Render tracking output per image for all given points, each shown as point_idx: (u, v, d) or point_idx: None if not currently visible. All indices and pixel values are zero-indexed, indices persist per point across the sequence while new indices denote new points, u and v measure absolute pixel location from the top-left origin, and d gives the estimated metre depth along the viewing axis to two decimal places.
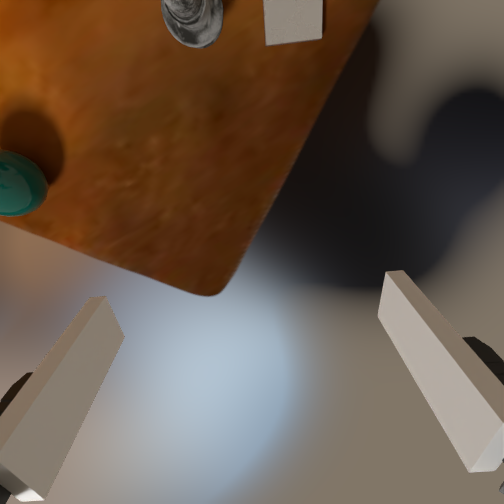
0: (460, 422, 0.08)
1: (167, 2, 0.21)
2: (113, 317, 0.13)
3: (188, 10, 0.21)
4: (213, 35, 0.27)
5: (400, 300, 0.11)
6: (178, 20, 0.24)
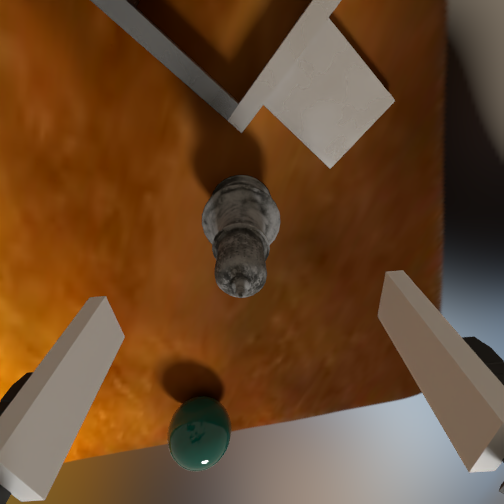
0: (460, 422, 0.08)
1: (243, 296, 0.15)
2: (113, 317, 0.13)
3: None
4: (277, 224, 0.21)
5: (400, 300, 0.11)
6: None
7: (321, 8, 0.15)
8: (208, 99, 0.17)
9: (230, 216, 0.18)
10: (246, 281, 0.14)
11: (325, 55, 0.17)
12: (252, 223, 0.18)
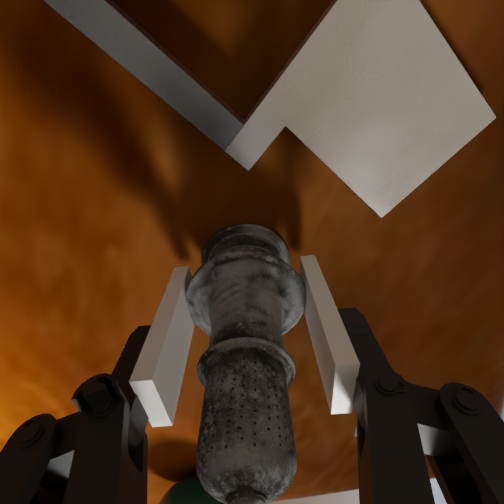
0: (326, 374, 0.10)
1: None
2: None
3: None
4: (302, 305, 0.13)
5: (305, 279, 0.13)
6: None
7: None
8: (192, 117, 0.10)
9: (229, 308, 0.11)
10: (258, 502, 0.07)
11: (391, 43, 0.10)
12: (265, 326, 0.10)
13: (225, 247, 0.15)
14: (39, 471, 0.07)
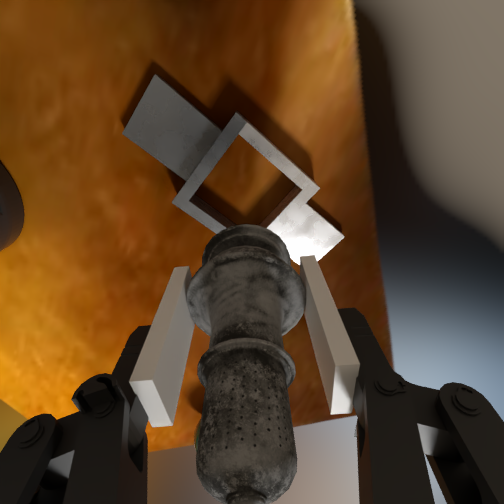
0: (326, 374, 0.10)
1: None
2: None
3: None
4: (302, 305, 0.13)
5: (305, 279, 0.13)
6: None
7: (296, 204, 0.28)
8: None
9: (229, 308, 0.11)
10: (258, 503, 0.07)
11: (301, 216, 0.30)
12: (265, 326, 0.10)
13: (225, 248, 0.15)
14: (39, 471, 0.07)
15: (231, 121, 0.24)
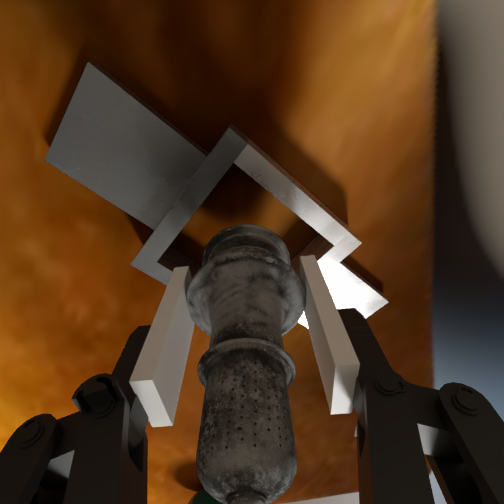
0: (326, 374, 0.10)
1: None
2: None
3: None
4: (302, 305, 0.13)
5: (305, 279, 0.13)
6: None
7: (324, 265, 0.18)
8: None
9: (229, 308, 0.11)
10: (258, 502, 0.07)
11: (327, 276, 0.20)
12: (265, 326, 0.10)
13: (225, 248, 0.15)
14: (39, 471, 0.07)
15: (221, 142, 0.14)
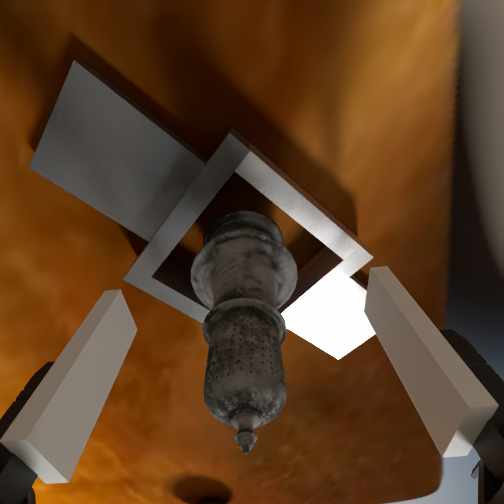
0: (434, 409, 0.09)
1: None
2: (127, 310, 0.14)
3: None
4: (294, 280, 0.15)
5: (383, 294, 0.12)
6: None
7: (332, 280, 0.17)
8: None
9: (229, 278, 0.13)
10: (254, 417, 0.08)
11: (335, 291, 0.19)
12: (260, 291, 0.12)
13: (224, 232, 0.17)
14: None
15: (221, 149, 0.13)
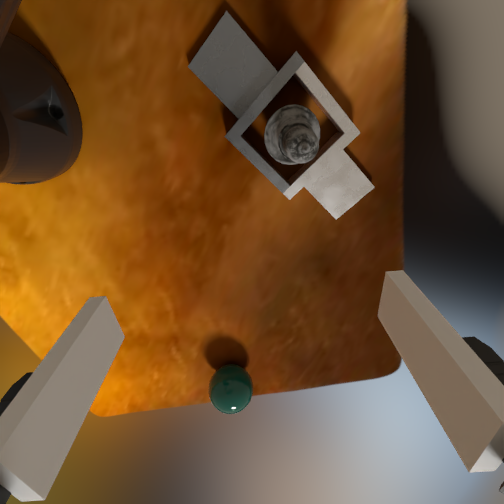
0: (460, 422, 0.08)
1: (301, 162, 0.23)
2: (113, 317, 0.13)
3: None
4: (318, 138, 0.29)
5: (400, 300, 0.11)
6: None
7: (337, 147, 0.30)
8: (274, 182, 0.32)
9: (289, 123, 0.27)
10: (308, 144, 0.22)
11: (338, 163, 0.33)
12: None
13: None
14: None
15: (290, 59, 0.26)
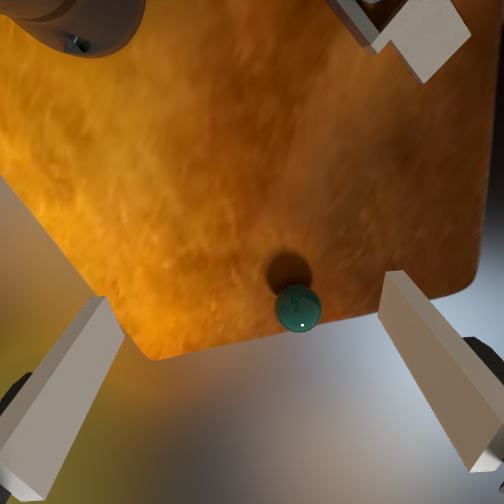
0: (460, 422, 0.08)
1: None
2: (113, 317, 0.13)
3: None
4: None
5: (400, 300, 0.11)
6: None
7: None
8: (362, 30, 0.29)
9: None
10: None
11: (432, 4, 0.29)
12: None
13: None
14: None
15: None
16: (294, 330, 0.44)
